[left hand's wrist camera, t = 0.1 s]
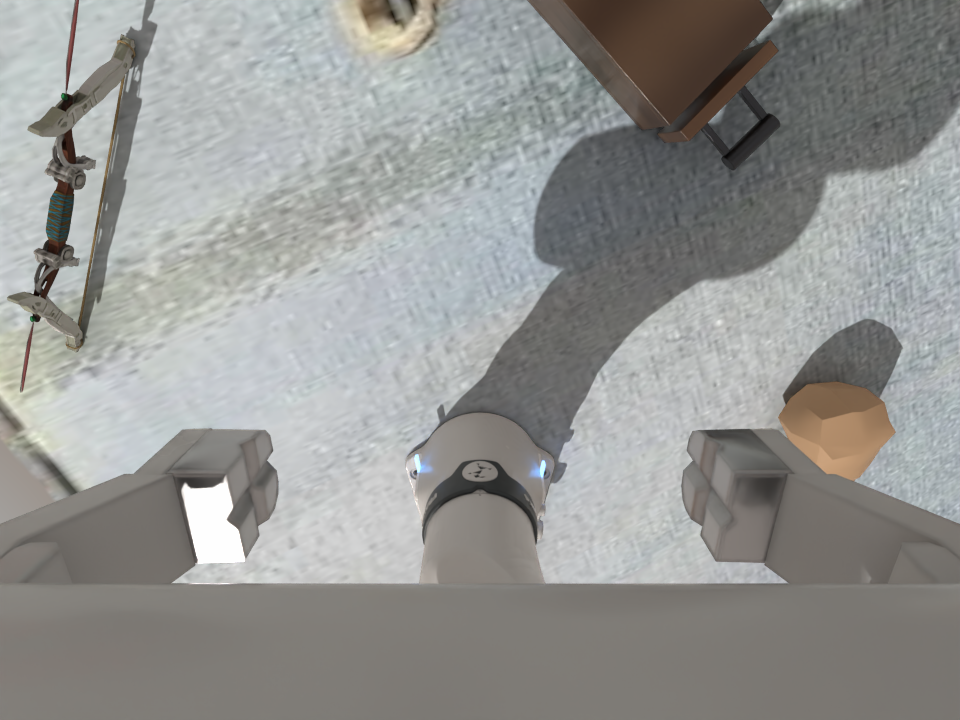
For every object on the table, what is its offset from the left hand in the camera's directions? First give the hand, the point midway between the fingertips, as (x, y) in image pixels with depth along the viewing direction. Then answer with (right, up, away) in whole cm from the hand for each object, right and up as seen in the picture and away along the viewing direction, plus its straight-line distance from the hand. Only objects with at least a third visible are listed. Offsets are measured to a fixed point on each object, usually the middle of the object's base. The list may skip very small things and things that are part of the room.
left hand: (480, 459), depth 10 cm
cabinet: (+13, +34, +38) cm, 53 cm away
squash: (+42, -8, +55) cm, 70 cm away
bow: (-40, +18, +45) cm, 62 cm away
